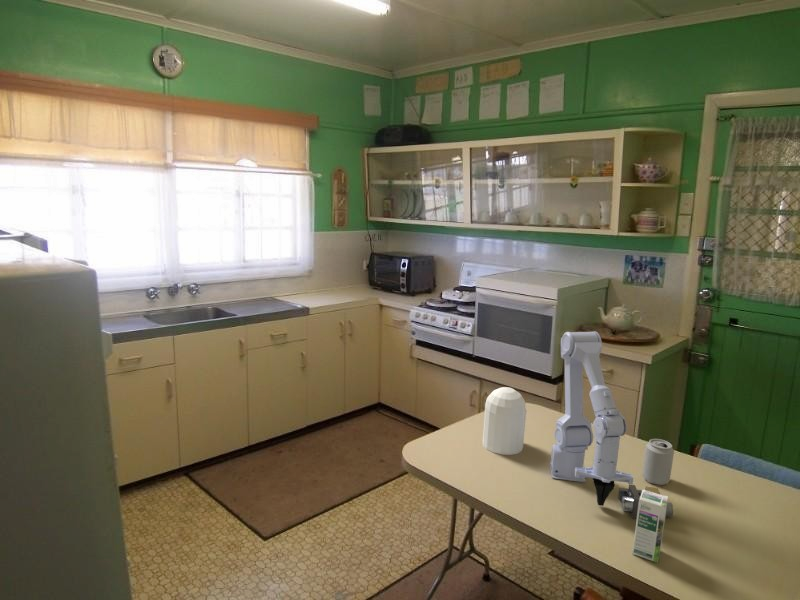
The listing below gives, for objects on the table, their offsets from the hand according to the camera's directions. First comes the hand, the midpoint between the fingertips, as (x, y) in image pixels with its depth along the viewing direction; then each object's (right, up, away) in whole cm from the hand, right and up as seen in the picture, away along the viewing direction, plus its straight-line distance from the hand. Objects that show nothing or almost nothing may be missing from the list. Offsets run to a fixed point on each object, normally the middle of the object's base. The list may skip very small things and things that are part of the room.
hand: (600, 503), depth 146 cm
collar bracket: (+11, -2, 0) cm, 11 cm away
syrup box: (+4, -5, -18) cm, 19 cm away
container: (-20, +7, +34) cm, 40 cm away
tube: (+12, -2, -2) cm, 12 cm away
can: (+22, +1, +15) cm, 27 cm away
